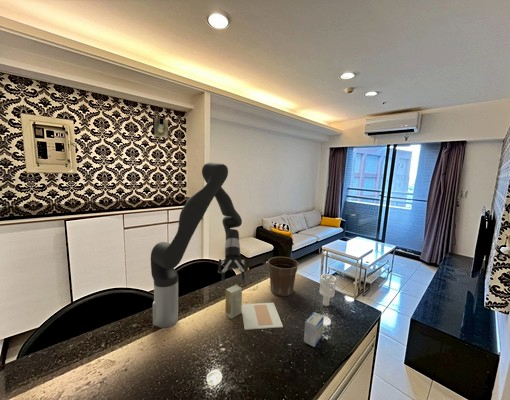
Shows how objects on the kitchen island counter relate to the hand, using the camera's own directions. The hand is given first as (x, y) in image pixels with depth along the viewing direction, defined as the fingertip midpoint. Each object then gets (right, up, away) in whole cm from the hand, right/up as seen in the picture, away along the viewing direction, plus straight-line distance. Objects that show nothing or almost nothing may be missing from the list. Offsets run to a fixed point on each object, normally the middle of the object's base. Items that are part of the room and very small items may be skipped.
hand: (233, 281), depth 106 cm
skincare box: (0, -13, -5) cm, 14 cm away
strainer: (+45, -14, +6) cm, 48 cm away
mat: (+13, -13, -5) cm, 19 cm away
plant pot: (+24, -11, +17) cm, 32 cm away
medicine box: (+33, -16, -18) cm, 41 cm away
